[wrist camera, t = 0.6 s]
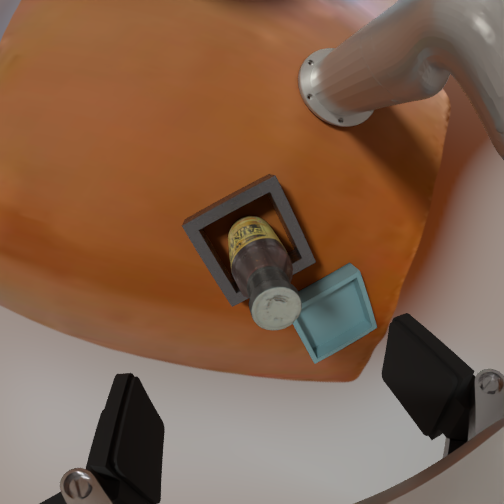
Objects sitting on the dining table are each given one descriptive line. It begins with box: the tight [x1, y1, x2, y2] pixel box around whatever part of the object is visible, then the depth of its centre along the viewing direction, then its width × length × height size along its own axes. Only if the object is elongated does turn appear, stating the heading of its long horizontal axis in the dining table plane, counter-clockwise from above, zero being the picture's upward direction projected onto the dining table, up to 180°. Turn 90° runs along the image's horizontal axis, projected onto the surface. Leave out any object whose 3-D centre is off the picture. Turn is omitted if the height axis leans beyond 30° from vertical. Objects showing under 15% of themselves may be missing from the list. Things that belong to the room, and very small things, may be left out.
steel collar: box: [182, 174, 316, 307], centre depth 38 cm, size 13×13×4 cm
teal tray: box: [293, 263, 377, 363], centre depth 44 cm, size 13×13×4 cm
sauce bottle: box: [228, 216, 302, 330], centre depth 30 cm, size 7×6×20 cm
